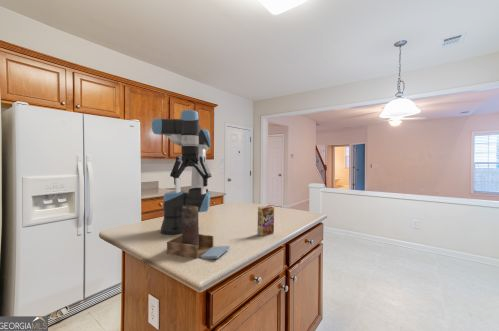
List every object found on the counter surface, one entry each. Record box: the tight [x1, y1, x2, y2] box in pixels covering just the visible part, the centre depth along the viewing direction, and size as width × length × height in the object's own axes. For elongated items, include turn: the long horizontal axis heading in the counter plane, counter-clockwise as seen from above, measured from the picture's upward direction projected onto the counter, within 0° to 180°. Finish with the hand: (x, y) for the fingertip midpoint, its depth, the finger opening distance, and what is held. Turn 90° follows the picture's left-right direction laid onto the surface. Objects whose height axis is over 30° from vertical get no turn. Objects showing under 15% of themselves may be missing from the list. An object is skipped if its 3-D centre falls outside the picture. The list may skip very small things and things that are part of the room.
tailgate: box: [197, 245, 230, 260], centre depth 100 cm, size 1×12×9 cm
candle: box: [181, 205, 200, 248], centre depth 104 cm, size 8×7×20 cm
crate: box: [166, 233, 214, 259], centre depth 104 cm, size 15×14×6 cm
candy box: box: [256, 205, 275, 237], centre depth 129 cm, size 9×4×15 cm, turn 123°
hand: (190, 193), depth 103 cm, fingers open, 13 cm apart
